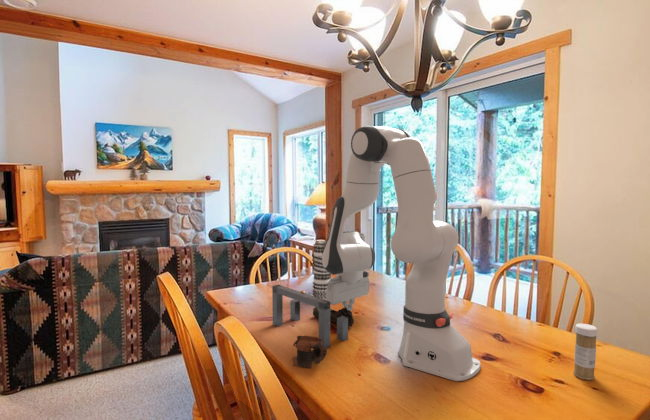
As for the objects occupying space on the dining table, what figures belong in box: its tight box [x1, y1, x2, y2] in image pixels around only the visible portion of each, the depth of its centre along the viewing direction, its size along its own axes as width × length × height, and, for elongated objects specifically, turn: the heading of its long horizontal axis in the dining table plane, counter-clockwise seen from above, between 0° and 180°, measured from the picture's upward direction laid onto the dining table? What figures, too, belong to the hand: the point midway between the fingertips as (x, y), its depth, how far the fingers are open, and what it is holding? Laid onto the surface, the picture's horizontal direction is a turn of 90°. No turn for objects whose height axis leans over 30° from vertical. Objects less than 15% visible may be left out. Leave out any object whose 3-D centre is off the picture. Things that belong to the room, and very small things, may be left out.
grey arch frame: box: [271, 284, 331, 349], centre depth 122 cm, size 26×3×14 cm, turn 44°
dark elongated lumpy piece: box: [312, 306, 355, 328], centre depth 134 cm, size 18×7×6 cm, turn 43°
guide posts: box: [289, 299, 349, 342], centre depth 127 cm, size 26×2×7 cm, turn 44°
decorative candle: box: [311, 240, 332, 300], centre depth 161 cm, size 9×9×25 cm
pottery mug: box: [292, 335, 328, 369], centre depth 104 cm, size 12×10×8 cm
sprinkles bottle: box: [573, 323, 598, 381], centre depth 96 cm, size 5×5×14 cm
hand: (348, 310), depth 138 cm, fingers closed
